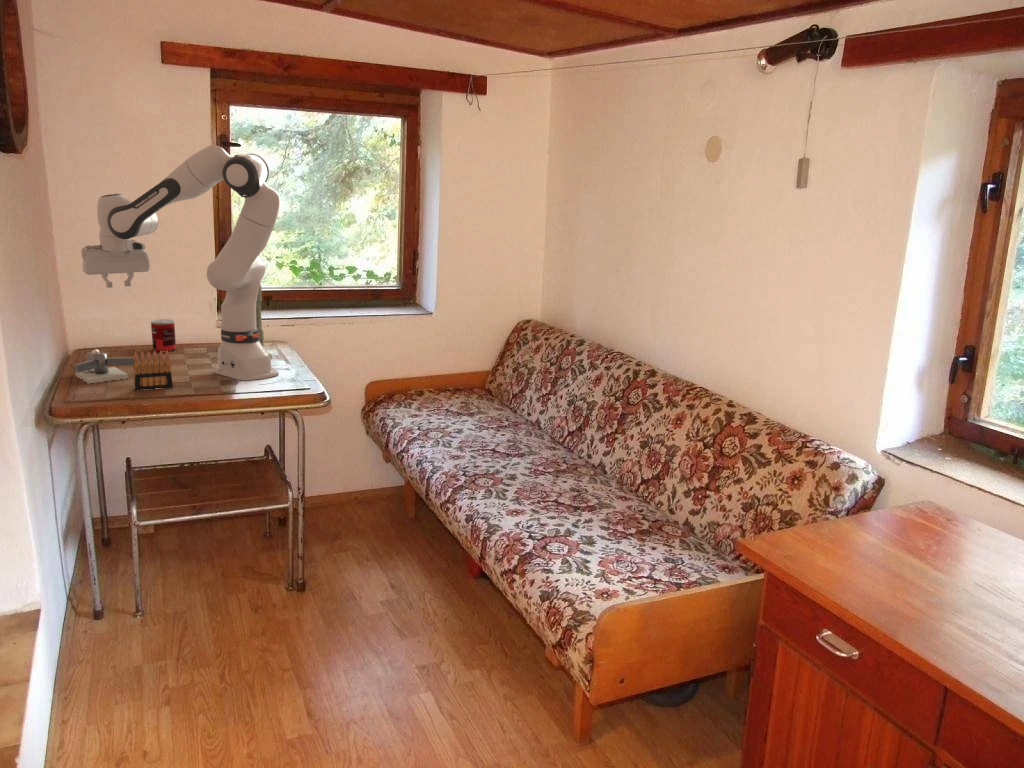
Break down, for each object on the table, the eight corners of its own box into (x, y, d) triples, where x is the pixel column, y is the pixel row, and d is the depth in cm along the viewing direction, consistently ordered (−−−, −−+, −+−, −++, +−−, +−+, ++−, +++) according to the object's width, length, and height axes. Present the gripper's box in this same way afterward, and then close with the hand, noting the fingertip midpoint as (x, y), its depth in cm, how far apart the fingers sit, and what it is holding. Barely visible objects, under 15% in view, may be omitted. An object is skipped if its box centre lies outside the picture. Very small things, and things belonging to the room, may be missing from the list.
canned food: (156, 347, 304) (154, 318, 301) (178, 348, 305) (176, 319, 302) (150, 352, 297) (147, 322, 294) (172, 352, 298) (170, 323, 295)
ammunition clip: (172, 386, 254) (169, 349, 251) (173, 387, 253) (170, 350, 250) (134, 389, 249) (131, 351, 246) (135, 390, 248) (132, 352, 245)
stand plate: (128, 378, 261) (127, 373, 260) (88, 384, 252) (87, 379, 252) (115, 371, 269) (114, 366, 268) (75, 376, 261) (75, 371, 260)
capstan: (137, 371, 262) (136, 351, 261) (76, 380, 250) (74, 358, 248) (120, 362, 273) (118, 342, 272) (60, 369, 261) (58, 349, 259)
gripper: (84, 246, 256) (88, 290, 260) (150, 244, 270) (153, 285, 274) (77, 244, 260) (81, 287, 264) (142, 242, 274) (146, 283, 278)
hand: (118, 286), depth 269 cm, fingers open, 4 cm apart
